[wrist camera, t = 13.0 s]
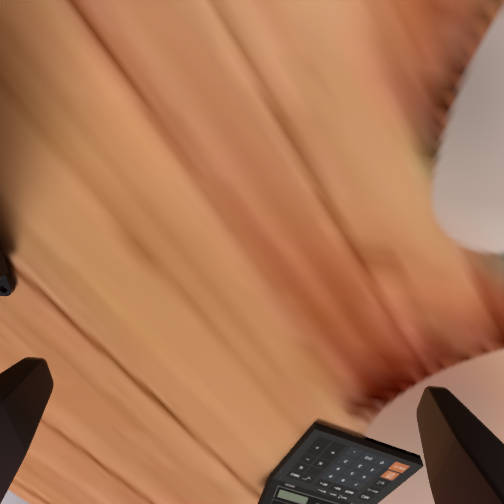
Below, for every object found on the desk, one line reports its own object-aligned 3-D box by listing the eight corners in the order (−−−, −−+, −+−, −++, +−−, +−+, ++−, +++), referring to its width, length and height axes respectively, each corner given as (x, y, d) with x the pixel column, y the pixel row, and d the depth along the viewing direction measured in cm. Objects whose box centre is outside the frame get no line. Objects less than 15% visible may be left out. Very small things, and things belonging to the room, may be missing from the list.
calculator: (420, 455, 30) (433, 495, 27) (344, 519, 36) (349, 557, 33) (314, 418, 29) (317, 457, 26) (252, 491, 34) (250, 528, 32)
